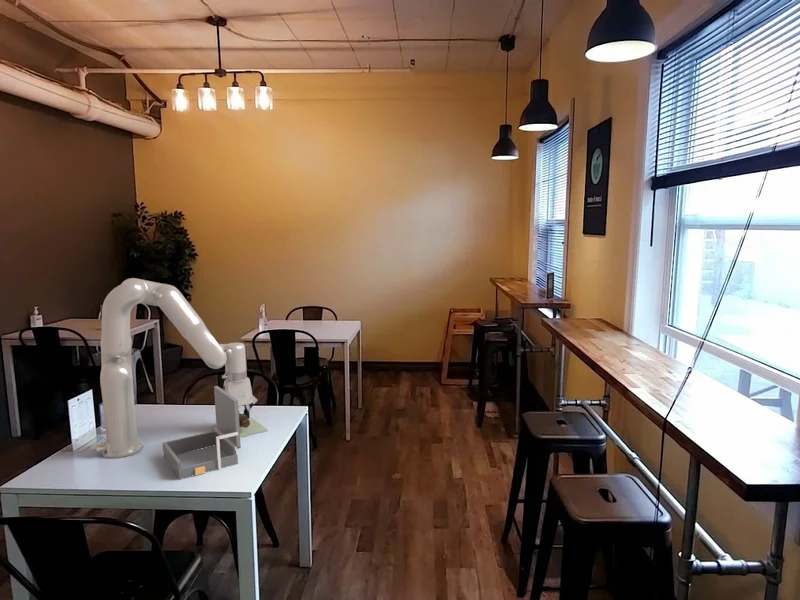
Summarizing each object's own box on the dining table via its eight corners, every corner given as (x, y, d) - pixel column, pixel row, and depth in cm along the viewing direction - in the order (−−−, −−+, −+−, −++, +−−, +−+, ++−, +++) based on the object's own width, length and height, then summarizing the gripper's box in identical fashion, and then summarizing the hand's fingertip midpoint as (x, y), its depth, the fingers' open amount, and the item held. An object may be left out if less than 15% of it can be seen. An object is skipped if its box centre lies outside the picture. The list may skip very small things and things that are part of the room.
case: (180, 480, 162) (175, 413, 159) (163, 456, 179) (158, 396, 176) (242, 463, 173) (238, 400, 170) (220, 442, 190) (217, 385, 188)
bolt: (244, 434, 197) (229, 421, 208) (255, 424, 199) (239, 413, 211) (236, 422, 194) (221, 411, 206) (248, 413, 197) (232, 402, 208)
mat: (225, 441, 192) (225, 439, 192) (211, 428, 204) (211, 427, 204) (267, 430, 201) (267, 429, 201) (252, 419, 214) (252, 418, 214)
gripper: (216, 382, 192) (219, 430, 194) (261, 374, 202) (264, 420, 204) (210, 377, 198) (213, 424, 200) (254, 370, 208) (256, 415, 210)
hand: (238, 421), depth 202 cm, fingers closed on bolt, 5 cm apart
